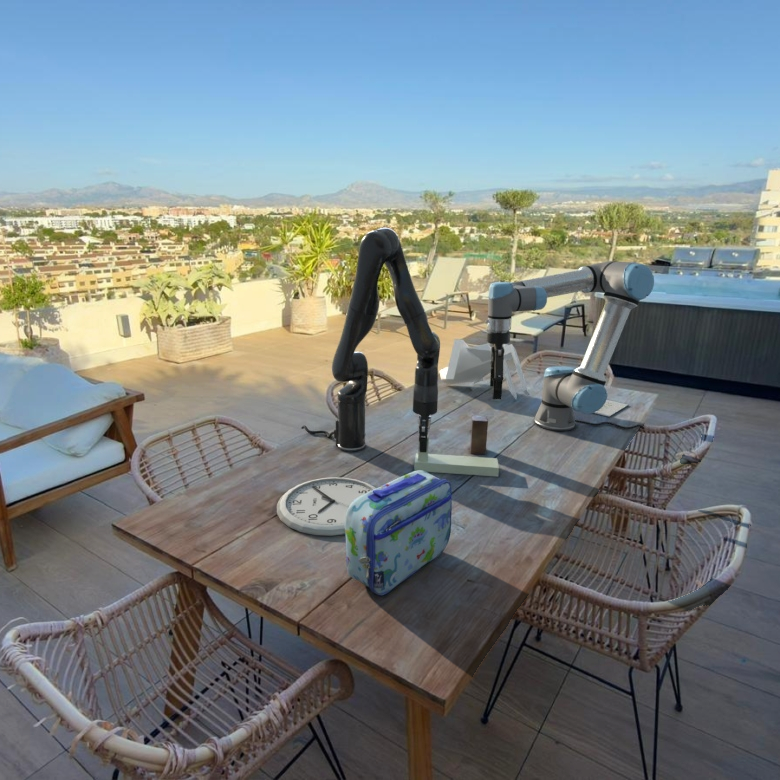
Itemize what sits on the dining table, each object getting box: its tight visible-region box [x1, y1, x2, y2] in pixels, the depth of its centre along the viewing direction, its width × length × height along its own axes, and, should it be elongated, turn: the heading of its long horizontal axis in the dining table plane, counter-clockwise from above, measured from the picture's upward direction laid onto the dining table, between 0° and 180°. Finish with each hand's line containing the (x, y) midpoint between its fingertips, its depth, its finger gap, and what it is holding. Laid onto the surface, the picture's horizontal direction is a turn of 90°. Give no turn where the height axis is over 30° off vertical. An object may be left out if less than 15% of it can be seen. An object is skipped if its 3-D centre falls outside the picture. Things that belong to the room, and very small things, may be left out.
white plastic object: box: [438, 338, 531, 400], centre depth 245 cm, size 37×45×31 cm
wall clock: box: [276, 476, 377, 537], centre depth 142 cm, size 30×2×30 cm
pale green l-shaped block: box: [413, 433, 500, 478], centre depth 164 cm, size 26×7×11 cm, turn 83°
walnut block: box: [469, 415, 489, 455], centre depth 177 cm, size 5×5×12 cm
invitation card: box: [593, 399, 629, 418], centre depth 226 cm, size 21×1×15 cm
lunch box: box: [344, 470, 453, 596], centre depth 114 cm, size 26×11×21 cm, turn 135°
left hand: (423, 448), depth 165 cm, fingers closed on pale green l-shaped block, 4 cm apart
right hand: (495, 392), depth 177 cm, fingers open, 13 cm apart
